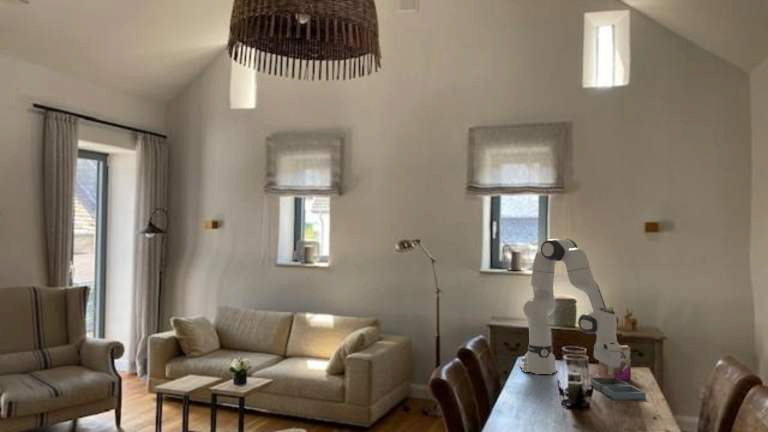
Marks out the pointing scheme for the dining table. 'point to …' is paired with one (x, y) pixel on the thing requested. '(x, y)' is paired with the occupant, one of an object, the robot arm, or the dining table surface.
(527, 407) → the dining table surface
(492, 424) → the dining table surface
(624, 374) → the candy bar box
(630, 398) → the slate tray
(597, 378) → the charcoal bin
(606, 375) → the terracotta block
